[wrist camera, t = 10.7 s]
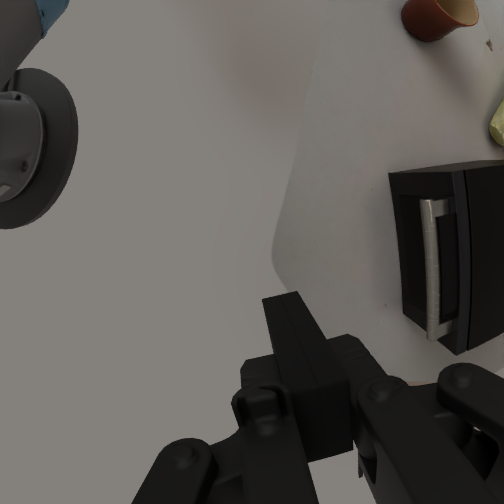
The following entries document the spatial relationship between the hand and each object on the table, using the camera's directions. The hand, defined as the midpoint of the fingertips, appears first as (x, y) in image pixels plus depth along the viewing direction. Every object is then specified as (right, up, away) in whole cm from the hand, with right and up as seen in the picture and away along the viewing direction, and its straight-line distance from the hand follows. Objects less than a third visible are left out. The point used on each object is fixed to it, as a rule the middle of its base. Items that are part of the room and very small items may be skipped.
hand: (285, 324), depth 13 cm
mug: (+24, +39, +21) cm, 50 cm away
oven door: (+18, +4, +27) cm, 33 cm away
